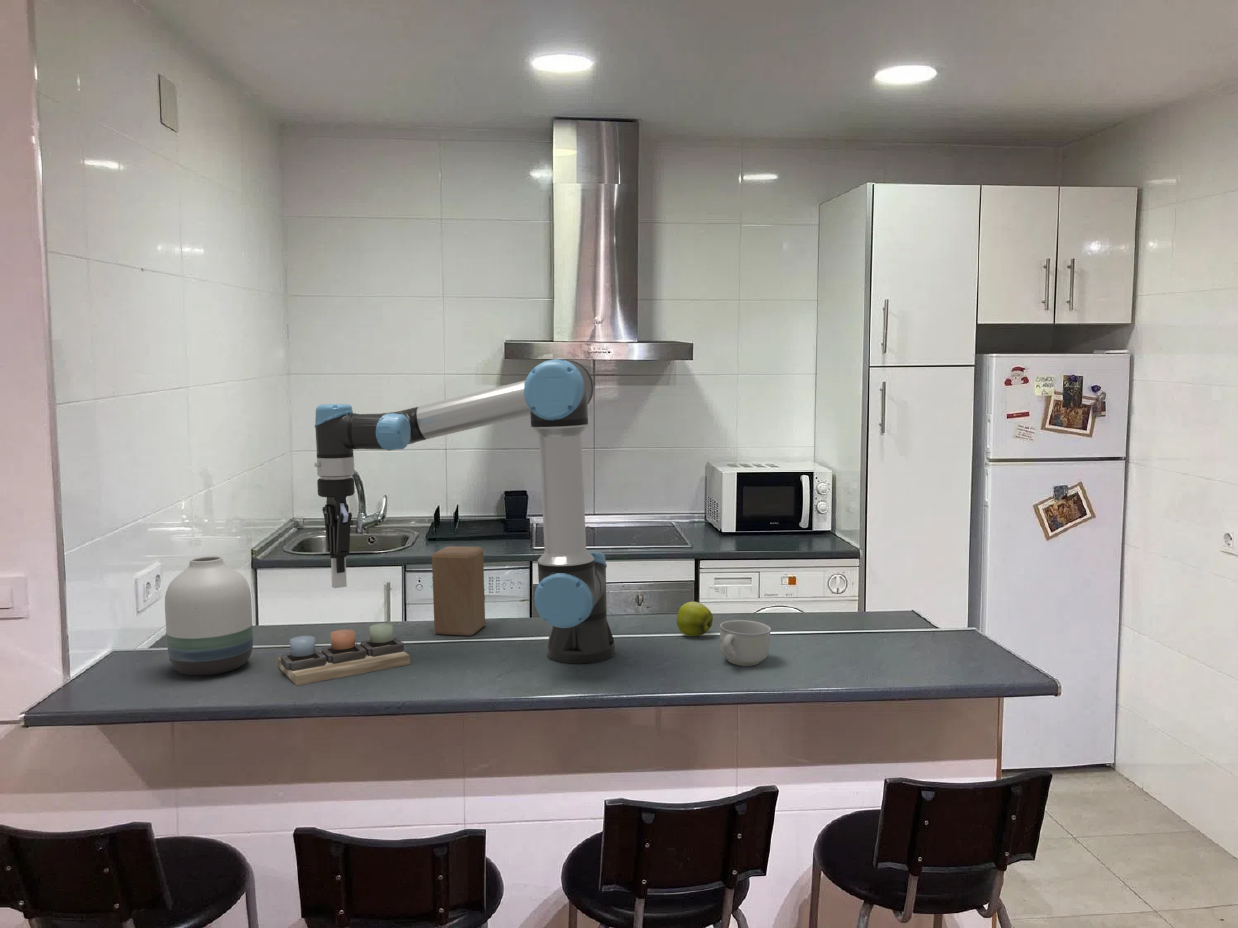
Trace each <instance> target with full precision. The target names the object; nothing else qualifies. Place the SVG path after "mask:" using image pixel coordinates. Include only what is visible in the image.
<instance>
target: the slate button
mask: <svg viewBox="0 0 1238 928" xmlns="http://www.w3.org/2000/svg"><path fill="white" fill-rule="evenodd" d="M289 647H290V649H289V651H290V653H291V655H292V656H308V655H312V654H314V653H315V652H316V651H317V649H316V637H315V636H312V635H299V636H295V637H292V638H290V639H289Z"/></svg>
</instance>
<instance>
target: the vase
mask: <svg viewBox="0 0 1238 928" xmlns="http://www.w3.org/2000/svg"><path fill="white" fill-rule="evenodd" d="M252 608H253V607H252V593H251V588H250V585H249V583H248V580H247V579H246V577H244V575H243V574H241V573H240V572H239V571H238V570H237V569H235V568H233V567H231V566H229V565H227V564H226V563H225V562H224V559H223V557H222V556H219V555H205V556H198V557H194V558H191V559H190V560H189V565H188V566H187V567H186V568H185V569H184V570H183V571H181V572H180V573H179V574H177V575H176V577H174V578H173V579H172V580H171V582H170V583H169V584H168V586H167V588H166V592H165V595H164V614H165V633H166V645H167V655H168V658H169V661H170V664H171V666H172V667H173V669H175V670H176V671H177V672H179V673H182V674H184V675H189V676H212V675H217V674H218V675H219V674H224V673H228V672H231V671H234V670H236V669H239V668H240V667H242V666H244V665H245V664H246V663H247V662H248V661H249V659H250V658H251V655H252V652H253V647H254V634H253V633H254V630H253V611H252V610H253V609H252Z"/></svg>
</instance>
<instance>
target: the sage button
mask: <svg viewBox="0 0 1238 928" xmlns="http://www.w3.org/2000/svg"><path fill="white" fill-rule="evenodd" d="M393 638H394V625H393V624H392V623H389V622H388V623H387V622H386V623H384V622H382V623H375V624H371V625H369V640H370V641H371V642H373V643H384V642H389V641H392V640H393Z"/></svg>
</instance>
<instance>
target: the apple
mask: <svg viewBox="0 0 1238 928" xmlns="http://www.w3.org/2000/svg"><path fill="white" fill-rule="evenodd" d="M713 620H714V616H713V613H712V611H711V610H710V609H709V608H708V607H706V605H704V604H703V603H702V602H698V601H689V602H686V603H684V604H683V605H681V606H680V607H679V609H678V611H677V614H676V625H677V628H678V630H679V631H680V632H681V633H682V634H683V635H686V636H688V637H699V636H703V635H705V634H706V633H707V632H709V630H710V629H711V627H712V626H713Z"/></svg>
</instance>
